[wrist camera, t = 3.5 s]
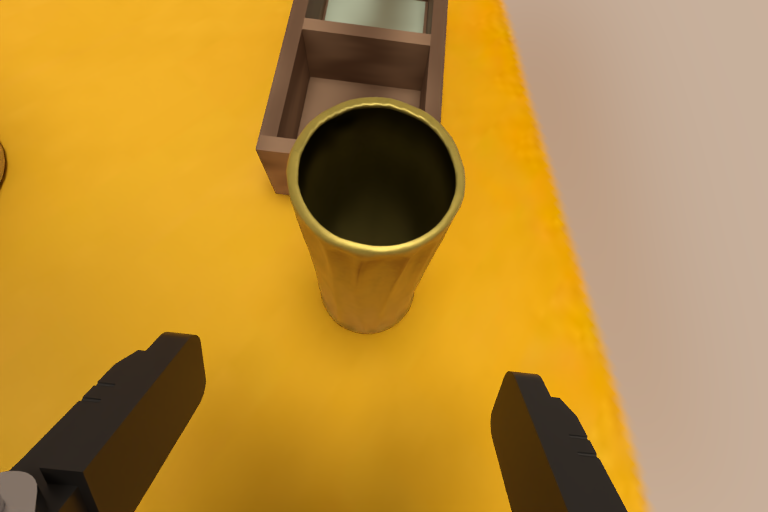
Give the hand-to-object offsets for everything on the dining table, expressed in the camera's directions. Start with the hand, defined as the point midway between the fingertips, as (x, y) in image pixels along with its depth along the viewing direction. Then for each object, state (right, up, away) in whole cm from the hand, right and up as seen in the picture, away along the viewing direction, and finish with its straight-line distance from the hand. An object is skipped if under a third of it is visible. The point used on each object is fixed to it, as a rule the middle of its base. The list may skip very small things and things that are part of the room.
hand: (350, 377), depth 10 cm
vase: (0, +1, +14) cm, 15 cm away
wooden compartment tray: (-1, +16, +19) cm, 25 cm away
